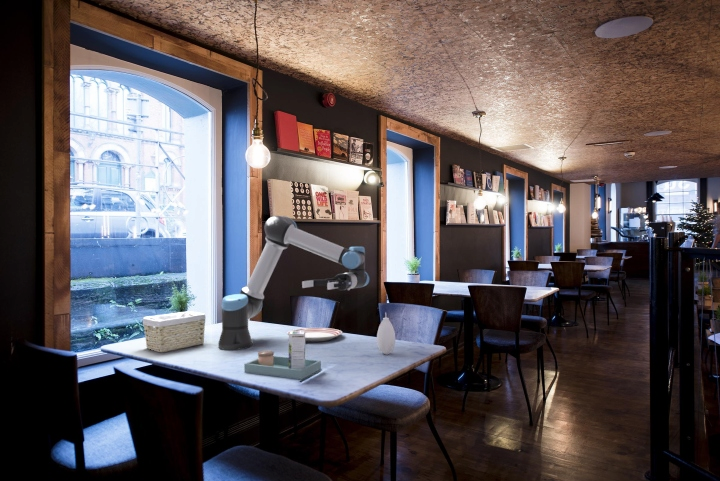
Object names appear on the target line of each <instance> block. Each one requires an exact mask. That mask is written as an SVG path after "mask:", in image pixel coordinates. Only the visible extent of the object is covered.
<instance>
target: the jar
mask: <svg viewBox="0 0 720 481" xmlns="http://www.w3.org/2000/svg"><path fill="white" fill-rule="evenodd" d="M257 356H258V358H257V359H258V362H259V365H264V366H273V367H274V364H273V356H275V352H274V351H273V350H261V351H258V352H257Z"/></svg>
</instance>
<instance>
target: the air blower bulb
mask: <svg viewBox="0 0 720 481" xmlns="http://www.w3.org/2000/svg"><path fill="white" fill-rule="evenodd" d="M384 314H385V317H383V318H382V320H381V322H380V324H379V326H378V330H377V333H376V344H377V347H378V348H377V349H379V351H380V352H381V353H382V354H383V355H389V354H391V352H393V351H394V349H395V346H396V333H395V329H394V327H393V324H392V322H391V321H390V318H389V317H387V312H385V313H384Z"/></svg>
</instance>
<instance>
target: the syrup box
mask: <svg viewBox="0 0 720 481" xmlns="http://www.w3.org/2000/svg"><path fill="white" fill-rule="evenodd" d="M289 331H290V334H289V335H288V357H289V369H298V370H301V369H303V368H305V359H306V341H305V331H291V330H289Z"/></svg>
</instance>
